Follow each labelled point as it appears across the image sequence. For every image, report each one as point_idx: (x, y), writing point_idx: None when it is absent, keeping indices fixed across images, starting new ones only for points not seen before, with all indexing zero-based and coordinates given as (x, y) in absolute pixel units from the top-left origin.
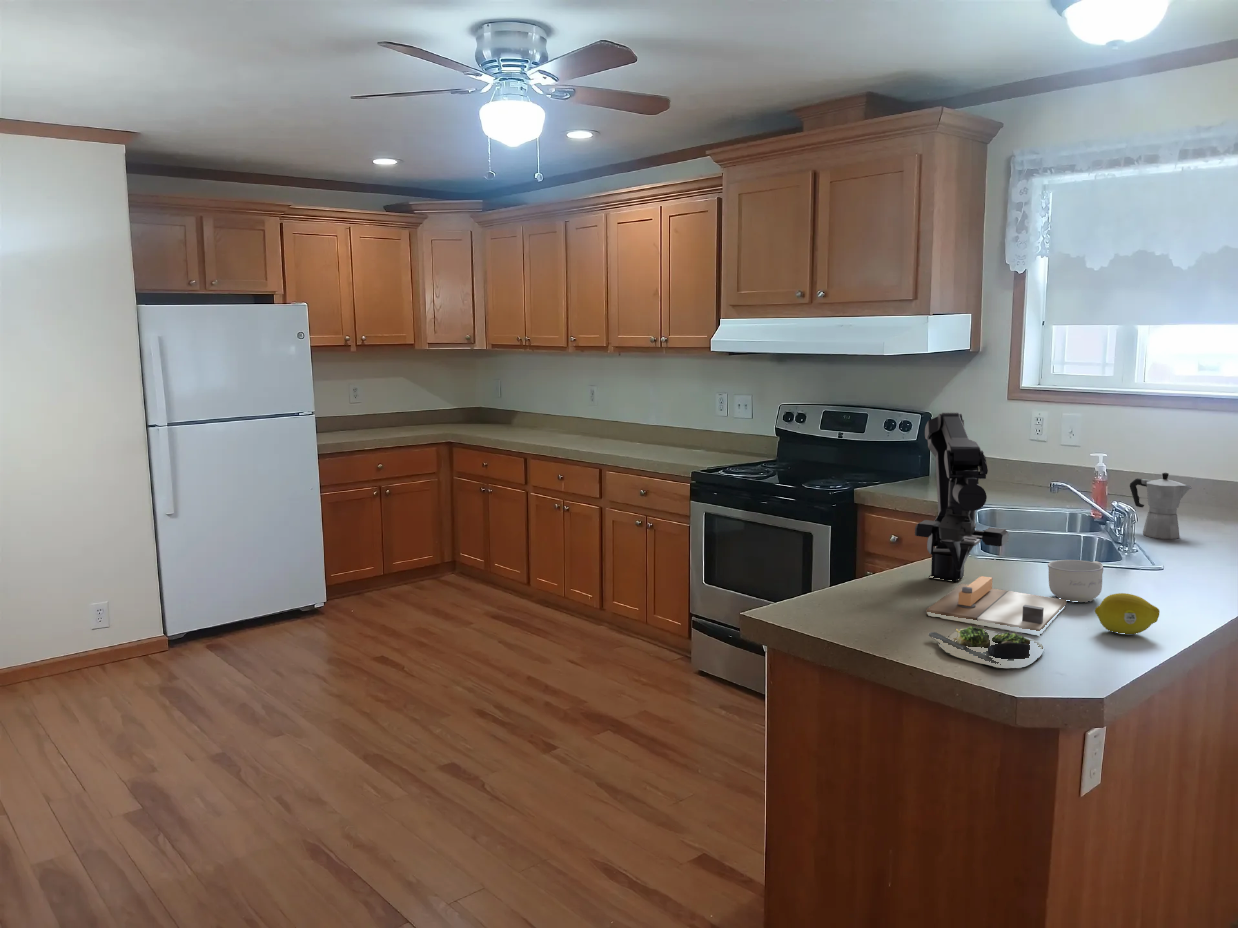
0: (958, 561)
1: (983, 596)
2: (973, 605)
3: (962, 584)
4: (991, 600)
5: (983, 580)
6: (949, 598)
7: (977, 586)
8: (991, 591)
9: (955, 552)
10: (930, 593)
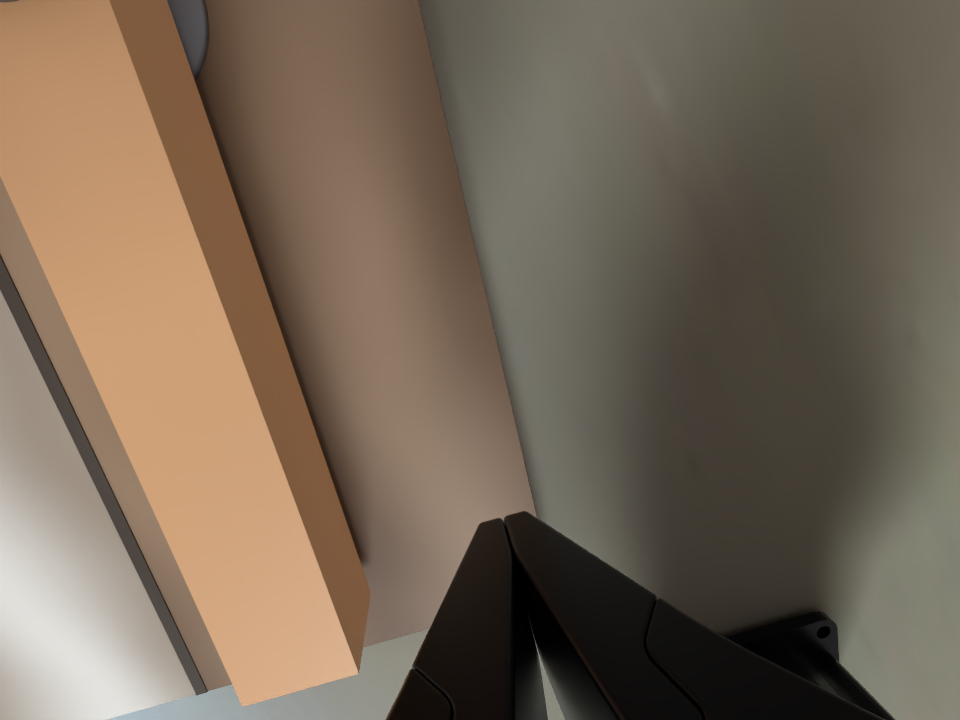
0: (532, 599)
1: None
2: None
3: None
4: None
5: (232, 562)
6: (380, 131)
7: (99, 296)
8: None
9: (627, 690)
10: (656, 326)
